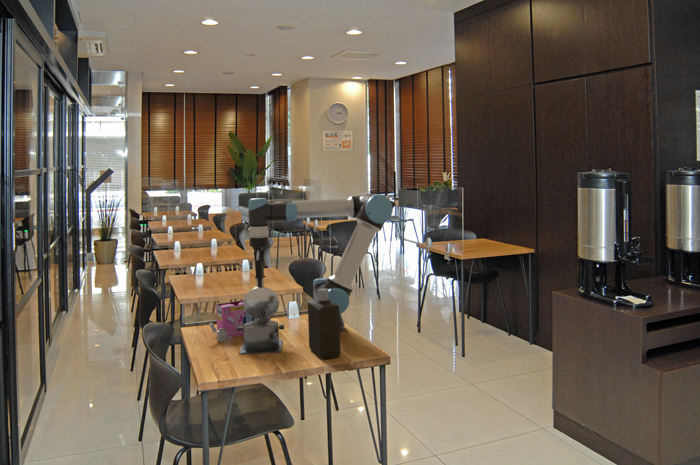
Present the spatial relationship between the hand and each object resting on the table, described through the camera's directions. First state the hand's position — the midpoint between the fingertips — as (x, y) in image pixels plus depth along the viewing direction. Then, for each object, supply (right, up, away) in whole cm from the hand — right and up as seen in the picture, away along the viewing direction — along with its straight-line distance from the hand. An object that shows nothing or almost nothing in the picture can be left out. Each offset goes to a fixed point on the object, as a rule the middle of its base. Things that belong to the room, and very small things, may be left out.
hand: (260, 293), depth 226 cm
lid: (0, -4, 0) cm, 4 cm away
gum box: (-10, -19, +20) cm, 30 cm away
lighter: (-19, -21, +7) cm, 29 cm away
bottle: (+27, -22, -12) cm, 37 cm away
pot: (+1, -21, -3) cm, 21 cm away
